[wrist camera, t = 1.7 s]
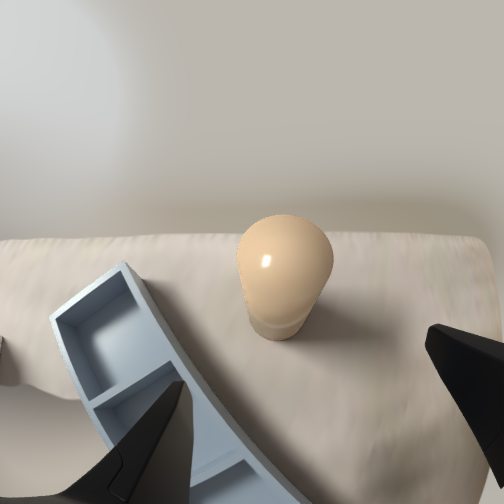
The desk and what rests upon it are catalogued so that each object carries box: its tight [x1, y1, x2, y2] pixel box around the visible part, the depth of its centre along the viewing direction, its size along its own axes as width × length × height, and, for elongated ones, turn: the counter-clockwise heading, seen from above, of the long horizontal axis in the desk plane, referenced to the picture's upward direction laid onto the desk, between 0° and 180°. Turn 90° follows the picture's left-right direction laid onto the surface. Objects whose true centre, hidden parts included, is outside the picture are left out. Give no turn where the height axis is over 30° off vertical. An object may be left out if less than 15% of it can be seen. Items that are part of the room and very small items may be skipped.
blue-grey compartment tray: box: [49, 261, 313, 504], centre depth 16 cm, size 25×9×4 cm, turn 37°
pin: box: [237, 215, 333, 341], centre depth 17 cm, size 4×4×10 cm
